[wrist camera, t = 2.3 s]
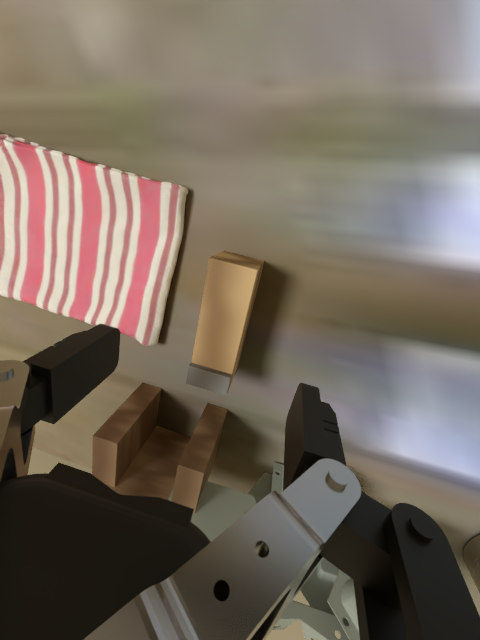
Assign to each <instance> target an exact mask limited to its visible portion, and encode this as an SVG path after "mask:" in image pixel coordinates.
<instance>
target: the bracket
mask: <svg viewBox="0 0 480 640" xmlns="http://www.w3.org/2000/svg"><path fill="white" fill-rule="evenodd" d="M276 472H279V474H280V475H276ZM283 477H284V465H282V464H279V463H275V462H274V467H273V474H270V473H267V472H265V473H264V474H263V475H262V476H261V478H260V479H259V480H258V482H257V483H256V484H255V486H254V487H253V488H252V489H251V491H250V492H249V493H248V494H246V493H243V492H239V491H236V490H233V489H230V488H227V487H223V486H220V485H217V484H214V483H211V482H208V481H206V482H205V485H204V488H203V491H202V494H201V497H200V500H199V502H198V505H197V508H196V511H195V514H194V513H193V515H192V519H191V522H192V523H193V524H194V525H196V526H197V527H198V528H199V529H200V530H201V531H202V532H203V533H204V534H205V535H206V536H207V537H208V539H209V540H210V541H211V542H212V541H213V540H214V539H215V538H216V537H218V536H219V535H220V534H221V533H222V532H224V531H225V530H226V529H227V528H228V527H230V526H231V525H232V524H233V523H234V522H236V521H237V520H238V519H239V518H240V517H242V516H243V515H244V514H245V513H246V512H248V511H249V510H250V509H251V508H252V507H253V506H255V505H256V504H257V503H258V502H259V501H261V500H262V499H263V498H264V497H265V496H267V495H268V494H269V493H271V492H273V491H276V492H277V493H278V494H280V493H282V492H283ZM173 489H174V488H173ZM172 495H173V490H172V492H171V494H170V497H169V499H168V500H169V501H171V500H172ZM300 590H301V592H302V593H303V595H304V596H305V598H306V600H307V601H308V602H309V604H310V606H308V605H305V604H302V603H299V602H296V601H294V600H292V601H291V603H290V604H289V606H288V607H287V608H286V610H285V611H284V613H283V614H282V616H281V617H280V619H279V620H278V622H277V623H276V625H279V626H274V628H273V629H274V630H275V629H285V628H287V627H288V626H289V625H290V624H291V623H292V622H293V621H294V620H296V619H299V620H300V621H302V628H303V636H304V637H305V638H306V639H308V640H313V639H312V638H315V639H316V640H360V635H359V626H358V617H357V608H356V599H355V590H354V582H353V579H352V578H350V577H349V576H348V575H346V574H345V573H344V572H342V571H341V570H340V569H338V568H337V567H336V566H334V565H333V564H332V563H330V562H329V561H327V560H326V559H325V558H323V559H322V561H321V562H320V563H319V565H318V566H317V567H316V569H315V570H314V571H313V573H312V574H311V576H310V577H309V578H308V580H307V581H306V582H305V584H304V585H303V586H302V588H301V589H300ZM273 629H272V630H273ZM335 630H337V631H338V632H339V633H340V635H341V638H340V639H337V638H336V636H335V634H334V632H335Z"/></svg>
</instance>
